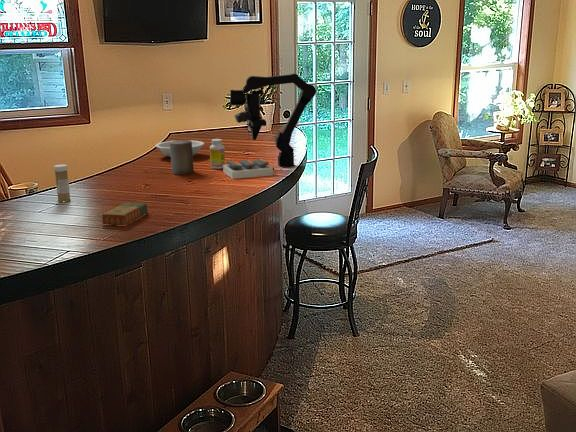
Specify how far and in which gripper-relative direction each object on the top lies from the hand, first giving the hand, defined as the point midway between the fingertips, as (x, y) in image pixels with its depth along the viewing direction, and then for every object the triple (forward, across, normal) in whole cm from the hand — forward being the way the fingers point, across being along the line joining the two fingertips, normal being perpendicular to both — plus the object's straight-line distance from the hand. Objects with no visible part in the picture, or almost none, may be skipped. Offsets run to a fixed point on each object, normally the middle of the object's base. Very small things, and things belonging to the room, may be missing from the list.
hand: (254, 139), depth 286 cm
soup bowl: (+13, -40, -27) cm, 50 cm away
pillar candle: (+13, -2, -33) cm, 35 cm away
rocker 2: (+9, +12, -7) cm, 16 cm away
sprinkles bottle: (+13, +32, -83) cm, 90 cm away
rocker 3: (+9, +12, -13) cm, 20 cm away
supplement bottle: (+13, -6, -16) cm, 21 cm away
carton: (+13, +66, -64) cm, 93 cm away
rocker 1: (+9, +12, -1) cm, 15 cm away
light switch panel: (+12, +12, -5) cm, 18 cm away
